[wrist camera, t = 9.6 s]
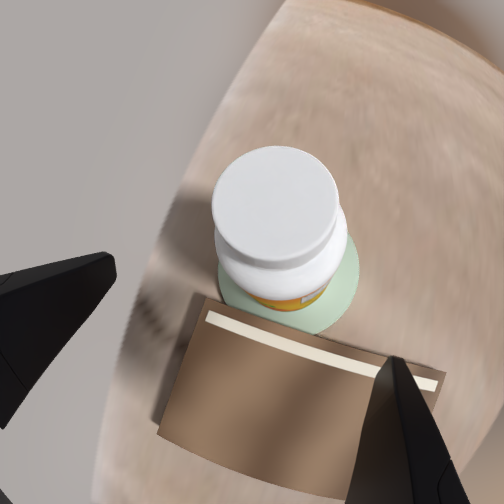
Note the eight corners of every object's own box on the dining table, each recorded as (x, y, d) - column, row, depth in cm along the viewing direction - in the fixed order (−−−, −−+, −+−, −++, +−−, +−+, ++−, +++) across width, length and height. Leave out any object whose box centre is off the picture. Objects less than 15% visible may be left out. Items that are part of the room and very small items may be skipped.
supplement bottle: (227, 269, 18) (158, 201, 9) (287, 213, 19) (273, 107, 10) (285, 331, 17) (269, 327, 7) (347, 269, 17) (395, 197, 8)
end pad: (360, 337, 16) (361, 337, 16) (216, 338, 18) (215, 337, 17) (351, 202, 19) (352, 200, 18) (223, 207, 20) (221, 204, 20)
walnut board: (438, 370, 14) (447, 372, 13) (378, 496, 12) (383, 505, 11) (212, 299, 18) (205, 297, 17) (164, 429, 16) (155, 434, 15)
